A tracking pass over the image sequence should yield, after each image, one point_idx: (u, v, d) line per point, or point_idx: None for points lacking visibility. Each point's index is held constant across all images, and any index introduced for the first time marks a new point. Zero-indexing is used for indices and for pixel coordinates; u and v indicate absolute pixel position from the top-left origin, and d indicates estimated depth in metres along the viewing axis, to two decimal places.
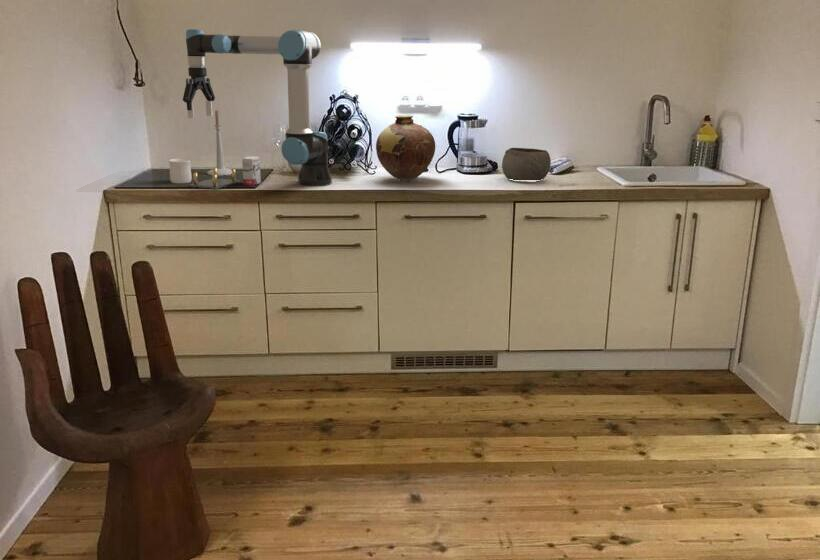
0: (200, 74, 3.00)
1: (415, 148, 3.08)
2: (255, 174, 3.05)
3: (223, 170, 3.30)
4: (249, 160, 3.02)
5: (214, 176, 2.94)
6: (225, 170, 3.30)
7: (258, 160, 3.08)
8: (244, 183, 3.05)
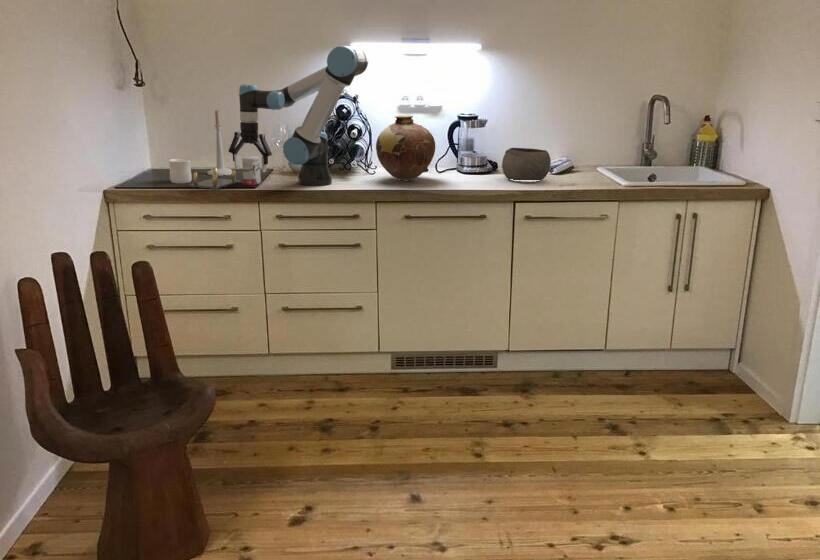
0: (241, 128, 3.00)
1: (415, 148, 3.08)
2: (255, 174, 3.05)
3: (223, 170, 3.30)
4: (249, 160, 3.02)
5: (214, 176, 2.94)
6: (225, 170, 3.30)
7: (258, 160, 3.08)
8: (244, 183, 3.05)
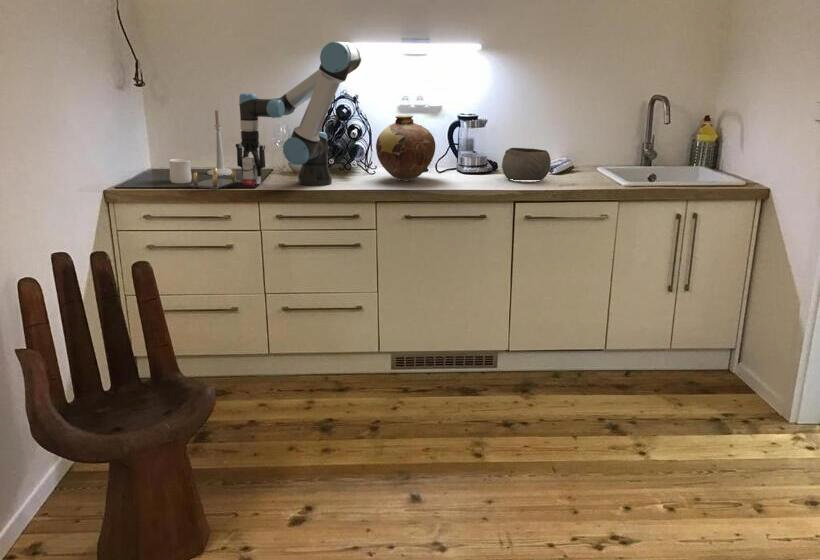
0: (241, 137, 3.01)
1: (415, 148, 3.08)
2: None
3: (223, 170, 3.30)
4: (249, 160, 3.02)
5: (214, 176, 2.94)
6: (225, 170, 3.30)
7: None
8: (244, 183, 3.05)
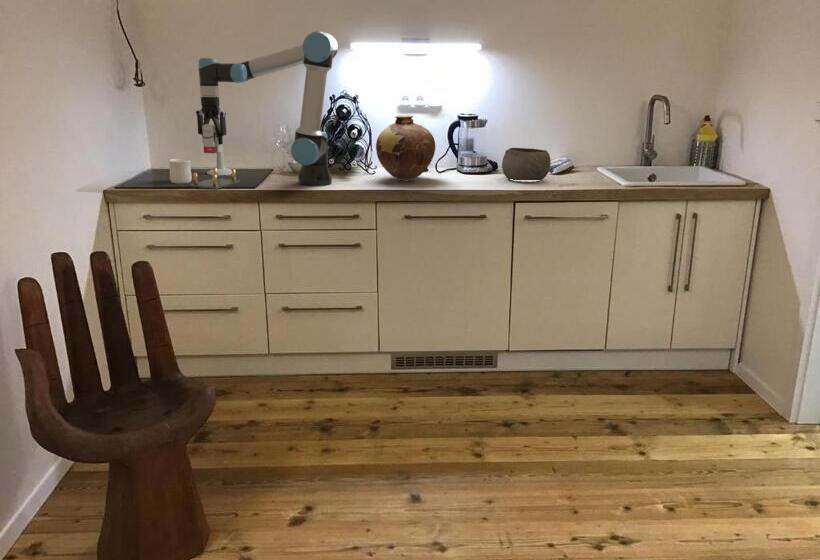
0: (201, 103, 2.92)
1: (415, 148, 3.08)
2: (215, 141, 2.97)
3: (223, 170, 3.30)
4: (209, 127, 2.93)
5: (214, 176, 2.94)
6: (225, 170, 3.30)
7: None
8: (204, 151, 2.97)
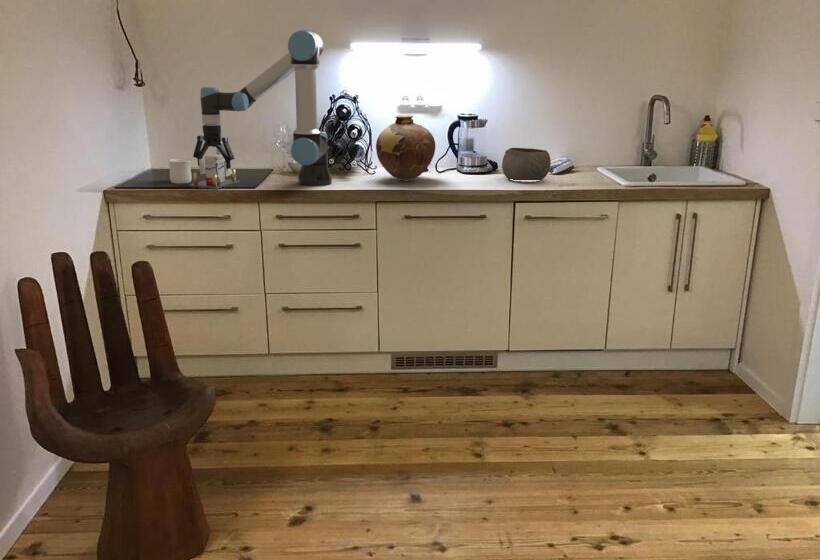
0: (203, 132, 2.96)
1: (415, 148, 3.08)
2: (217, 172, 3.01)
3: None
4: (211, 158, 2.97)
5: (214, 176, 2.94)
6: None
7: (222, 158, 3.03)
8: (207, 182, 3.01)
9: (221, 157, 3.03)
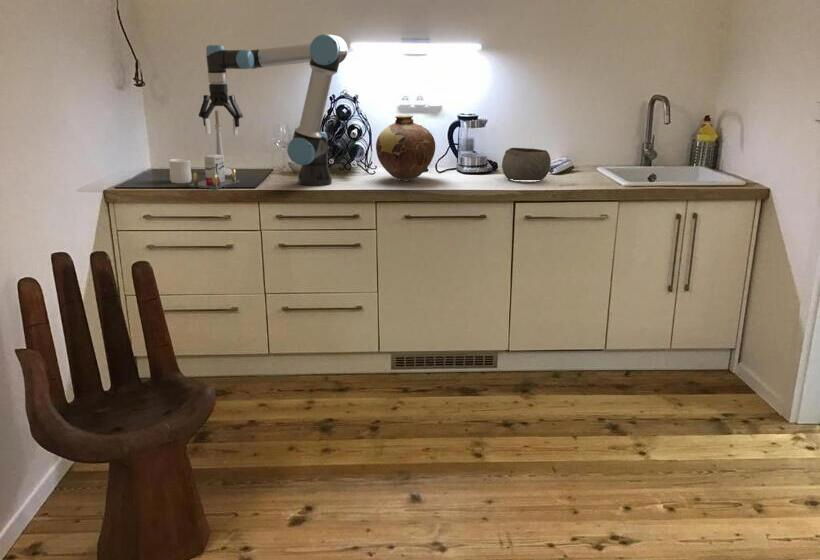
0: (210, 91, 2.94)
1: (415, 148, 3.08)
2: (217, 172, 3.01)
3: None
4: (211, 158, 2.97)
5: (214, 176, 2.94)
6: (225, 170, 3.30)
7: (222, 158, 3.03)
8: (207, 182, 3.01)
9: (221, 157, 3.03)
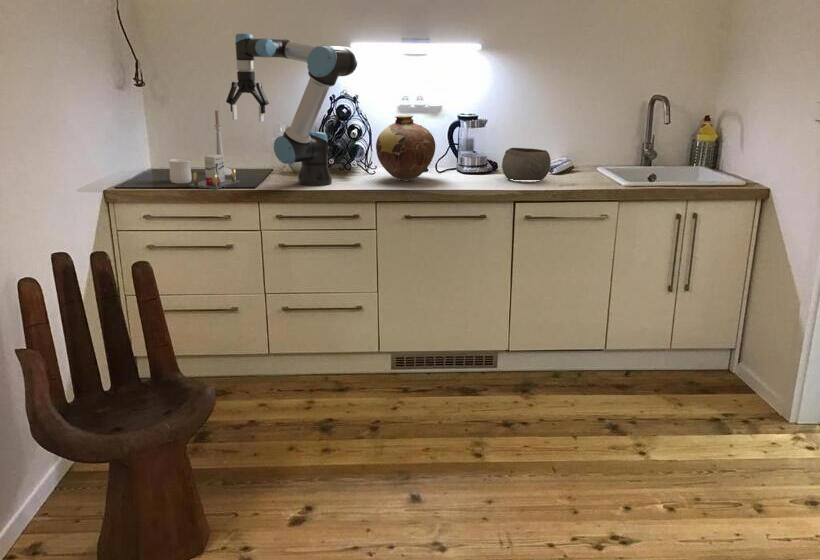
0: (238, 78, 3.03)
1: (415, 148, 3.08)
2: (217, 172, 3.01)
3: None
4: (211, 158, 2.97)
5: (214, 176, 2.94)
6: (225, 170, 3.30)
7: (222, 158, 3.03)
8: (207, 182, 3.01)
9: (221, 157, 3.03)
